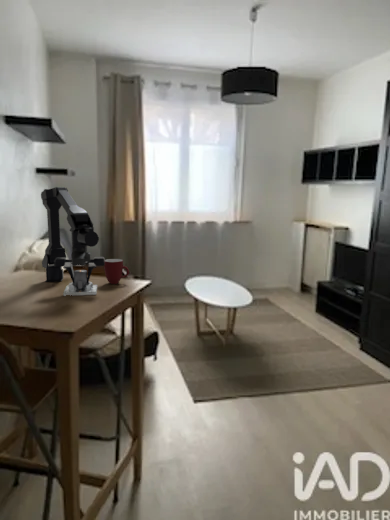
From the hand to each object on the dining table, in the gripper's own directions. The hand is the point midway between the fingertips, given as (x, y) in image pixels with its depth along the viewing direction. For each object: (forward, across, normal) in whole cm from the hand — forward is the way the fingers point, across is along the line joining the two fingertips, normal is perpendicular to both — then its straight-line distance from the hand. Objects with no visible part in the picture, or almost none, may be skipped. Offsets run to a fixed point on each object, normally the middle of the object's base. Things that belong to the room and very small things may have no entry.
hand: (80, 283), depth 159 cm
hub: (+3, 0, 0) cm, 3 cm away
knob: (+1, 0, 0) cm, 1 cm away
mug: (+4, +14, +13) cm, 19 cm away
